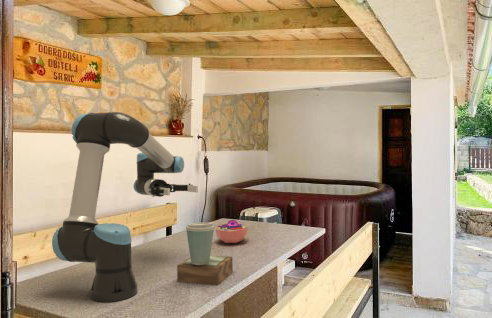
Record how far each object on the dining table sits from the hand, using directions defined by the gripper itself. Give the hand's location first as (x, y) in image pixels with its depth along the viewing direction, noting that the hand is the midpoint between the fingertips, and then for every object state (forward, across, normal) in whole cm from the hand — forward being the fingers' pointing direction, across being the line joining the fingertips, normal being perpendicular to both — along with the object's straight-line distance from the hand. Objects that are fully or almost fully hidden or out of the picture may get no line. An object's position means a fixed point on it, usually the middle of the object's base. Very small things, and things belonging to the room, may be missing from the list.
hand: (183, 190), depth 163 cm
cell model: (-22, -44, -32) cm, 58 cm away
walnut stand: (+14, 0, -32) cm, 35 cm away
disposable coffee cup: (+16, +4, -26) cm, 31 cm away
